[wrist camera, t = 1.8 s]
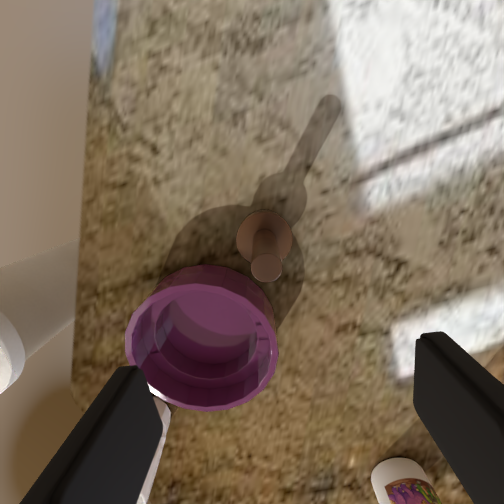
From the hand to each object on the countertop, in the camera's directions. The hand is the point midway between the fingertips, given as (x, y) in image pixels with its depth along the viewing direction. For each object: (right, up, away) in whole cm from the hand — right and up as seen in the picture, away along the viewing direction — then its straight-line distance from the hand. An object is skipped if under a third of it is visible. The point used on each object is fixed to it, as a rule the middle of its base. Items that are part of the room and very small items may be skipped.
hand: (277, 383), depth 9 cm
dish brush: (0, +7, +18) cm, 20 cm away
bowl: (-6, -4, +22) cm, 23 cm away
